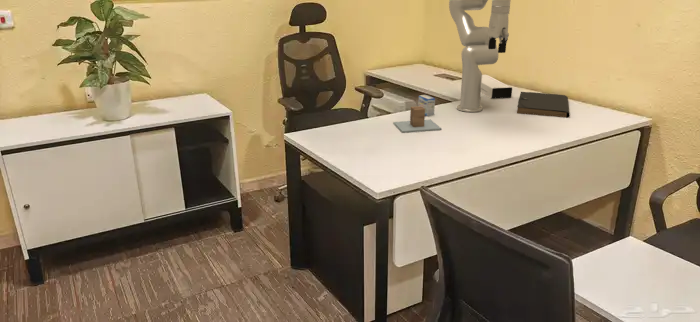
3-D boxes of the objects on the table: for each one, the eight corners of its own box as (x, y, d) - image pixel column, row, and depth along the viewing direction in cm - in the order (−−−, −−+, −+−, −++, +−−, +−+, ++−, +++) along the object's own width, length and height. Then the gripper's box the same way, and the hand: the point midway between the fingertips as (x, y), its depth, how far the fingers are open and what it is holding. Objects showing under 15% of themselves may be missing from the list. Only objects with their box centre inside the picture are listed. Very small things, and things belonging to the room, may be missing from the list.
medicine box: (417, 112, 262) (418, 95, 259) (425, 111, 264) (425, 94, 261) (426, 116, 255) (427, 99, 252) (434, 115, 257) (435, 97, 254)
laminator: (468, 85, 317) (469, 75, 314) (487, 84, 318) (488, 74, 316) (491, 99, 285) (492, 88, 283) (513, 98, 287) (514, 87, 285)
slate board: (393, 123, 245) (393, 122, 245) (430, 121, 248) (430, 119, 248) (402, 132, 232) (402, 131, 232) (441, 130, 235) (441, 128, 235)
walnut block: (410, 123, 242) (410, 106, 239) (420, 123, 243) (421, 106, 240) (413, 127, 237) (414, 109, 234) (424, 126, 238) (425, 109, 235)
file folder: (520, 90, 287) (568, 94, 279) (519, 98, 288) (567, 102, 281) (516, 106, 258) (570, 111, 250) (515, 114, 259) (568, 119, 252)
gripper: (483, 8, 233) (480, 48, 239) (501, 12, 217) (497, 54, 223) (499, 8, 234) (496, 47, 241) (518, 12, 218) (513, 53, 225)
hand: (496, 50), depth 232 cm, fingers open, 9 cm apart
